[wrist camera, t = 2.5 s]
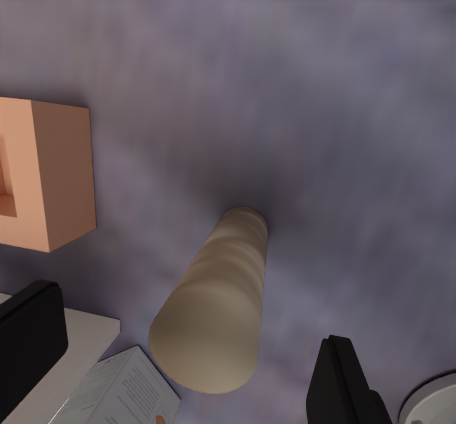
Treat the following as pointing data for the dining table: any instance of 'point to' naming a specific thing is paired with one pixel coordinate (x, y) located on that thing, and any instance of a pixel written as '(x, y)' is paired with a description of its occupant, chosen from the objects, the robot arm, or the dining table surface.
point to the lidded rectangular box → (66, 366)
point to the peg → (216, 309)
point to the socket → (45, 174)
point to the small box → (121, 394)
